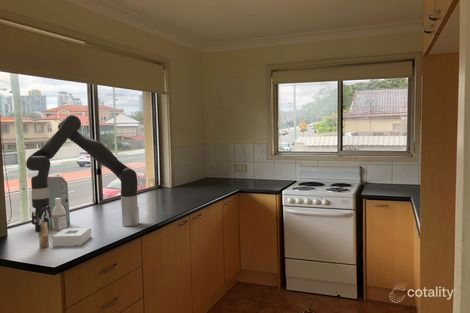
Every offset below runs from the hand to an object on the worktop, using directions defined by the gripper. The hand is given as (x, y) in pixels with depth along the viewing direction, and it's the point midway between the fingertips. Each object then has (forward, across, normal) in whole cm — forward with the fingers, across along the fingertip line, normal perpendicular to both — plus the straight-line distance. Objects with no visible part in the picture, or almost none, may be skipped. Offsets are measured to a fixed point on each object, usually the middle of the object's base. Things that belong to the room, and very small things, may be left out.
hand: (42, 229), depth 187 cm
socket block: (+8, +7, -11) cm, 16 cm away
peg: (+8, 0, 0) cm, 9 cm away
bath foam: (+9, +21, +1) cm, 23 cm away
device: (+9, +41, +13) cm, 44 cm away
